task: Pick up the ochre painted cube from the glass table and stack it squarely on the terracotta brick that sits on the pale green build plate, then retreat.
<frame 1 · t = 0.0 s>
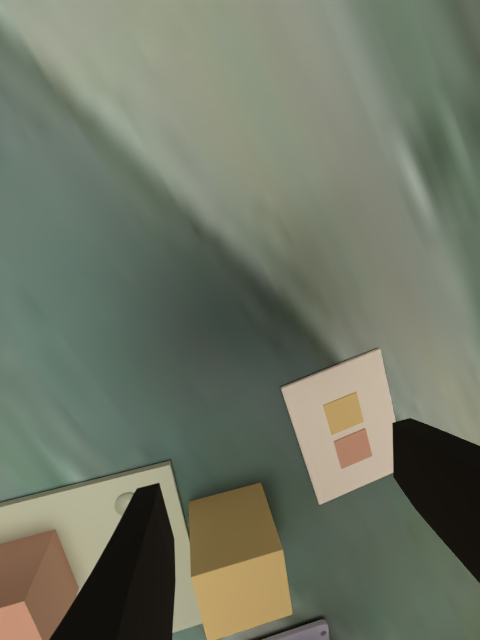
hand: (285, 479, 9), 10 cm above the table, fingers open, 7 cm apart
ochre brick: (230, 519, 22), on the table
terracotta brick: (25, 571, 20), resting on build plate
instruction card: (346, 429, 22), on the table
build plate: (70, 578, 21), on the table
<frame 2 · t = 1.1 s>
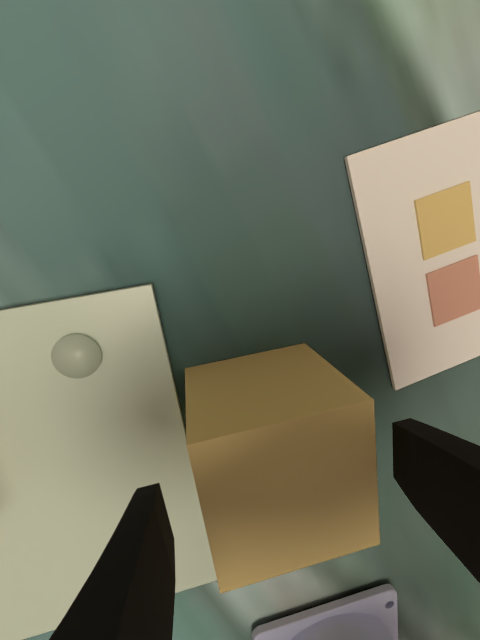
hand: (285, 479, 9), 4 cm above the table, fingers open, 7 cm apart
ochre brick: (254, 408, 13), on the table
instruction card: (445, 257, 13), on the table
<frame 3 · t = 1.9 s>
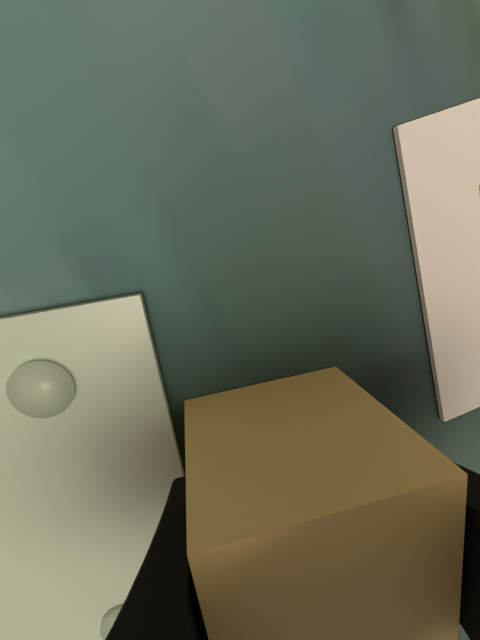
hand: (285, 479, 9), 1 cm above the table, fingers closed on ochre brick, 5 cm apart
ochre brick: (271, 448, 11), on the table, touching gripper
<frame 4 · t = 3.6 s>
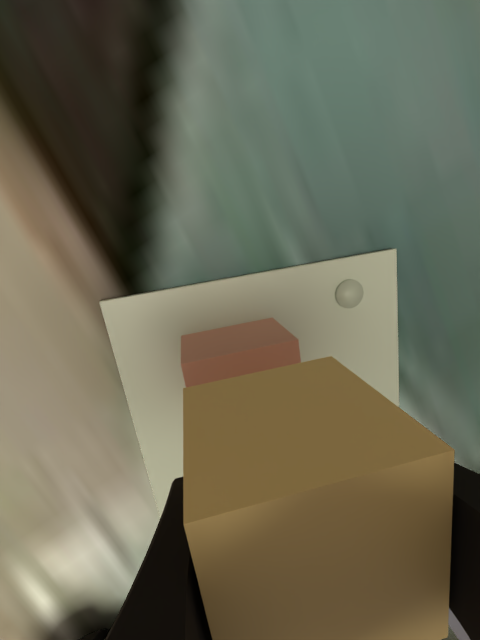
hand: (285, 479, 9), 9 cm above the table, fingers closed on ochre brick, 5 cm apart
ochre brick: (269, 437, 11), point 7 cm above the table, touching gripper
terracotta brick: (234, 368, 17), resting on build plate
toy: (159, 627, 22), on the table
build plate: (271, 389, 19), on the table
when the fingers open (7 cm above the table, at t = 4.5 s): ochre brick stays where it is, resting on terracotta brick.
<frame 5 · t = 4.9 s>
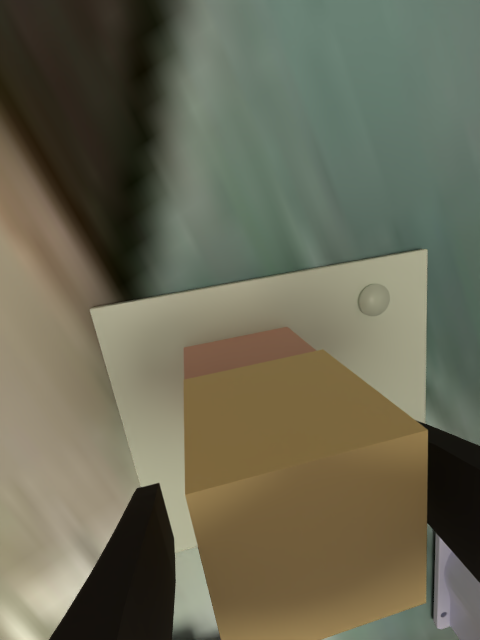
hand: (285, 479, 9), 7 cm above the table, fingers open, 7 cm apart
ochre brick: (264, 426, 12), point 4 cm above the table, touching terracotta brick
terracotta brick: (244, 384, 15), resting on build plate, touching ochre brick
build plate: (285, 406, 17), on the table
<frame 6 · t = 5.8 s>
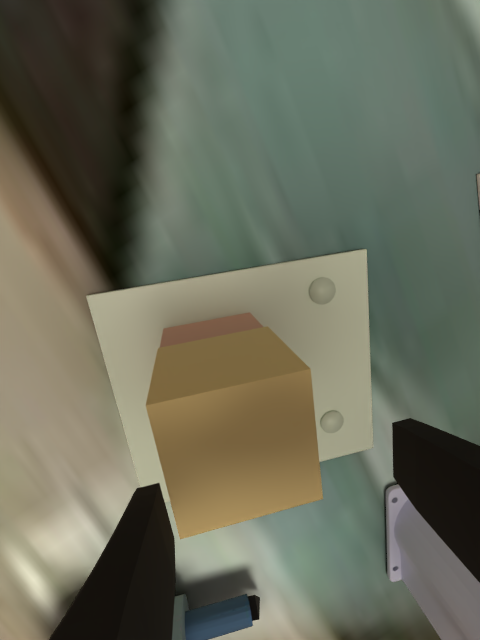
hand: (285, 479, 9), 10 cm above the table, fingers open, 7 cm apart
ochre brick: (223, 386, 15), point 4 cm above the table, touching terracotta brick
terracotta brick: (214, 360, 19), resting on build plate, touching ochre brick
toy: (158, 605, 23), on the table
build plate: (250, 380, 20), on the table
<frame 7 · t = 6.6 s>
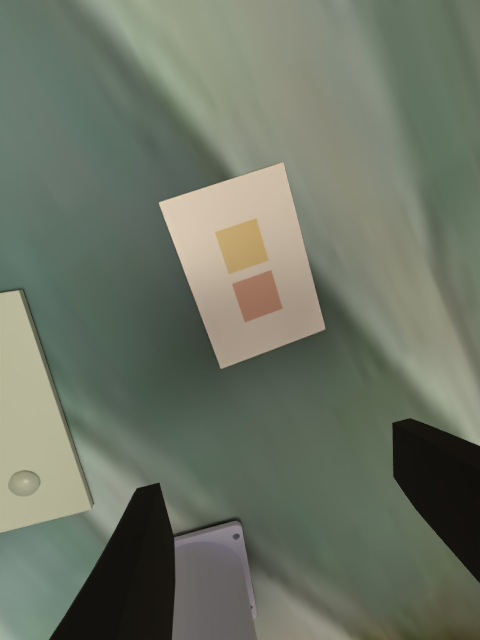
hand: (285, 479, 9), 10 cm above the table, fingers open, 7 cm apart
instruction card: (249, 271, 18), on the table
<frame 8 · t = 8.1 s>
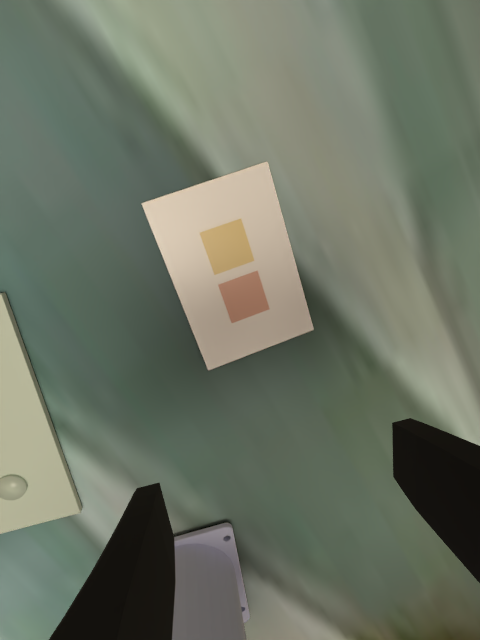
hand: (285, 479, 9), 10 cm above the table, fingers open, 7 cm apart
instruction card: (235, 272, 18), on the table
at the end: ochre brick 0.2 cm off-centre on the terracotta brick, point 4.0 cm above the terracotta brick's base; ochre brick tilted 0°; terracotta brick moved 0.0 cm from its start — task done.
